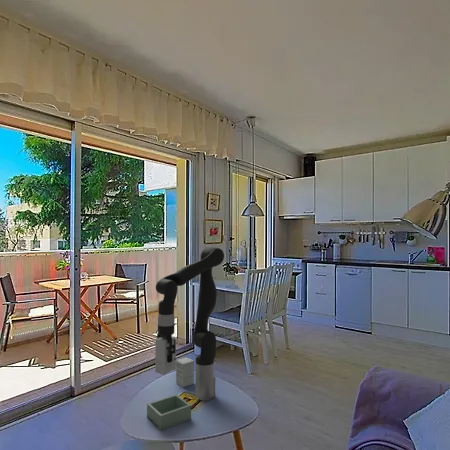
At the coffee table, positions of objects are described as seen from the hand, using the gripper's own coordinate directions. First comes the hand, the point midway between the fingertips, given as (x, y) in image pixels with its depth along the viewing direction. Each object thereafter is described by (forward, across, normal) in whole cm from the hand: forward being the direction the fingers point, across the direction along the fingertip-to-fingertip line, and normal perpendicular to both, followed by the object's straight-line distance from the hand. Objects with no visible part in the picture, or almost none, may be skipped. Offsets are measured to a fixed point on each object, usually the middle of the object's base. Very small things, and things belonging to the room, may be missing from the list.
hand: (165, 359), depth 157 cm
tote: (+25, -4, 0) cm, 25 cm away
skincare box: (+5, 0, 0) cm, 5 cm away
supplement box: (+25, +23, -24) cm, 41 cm away
